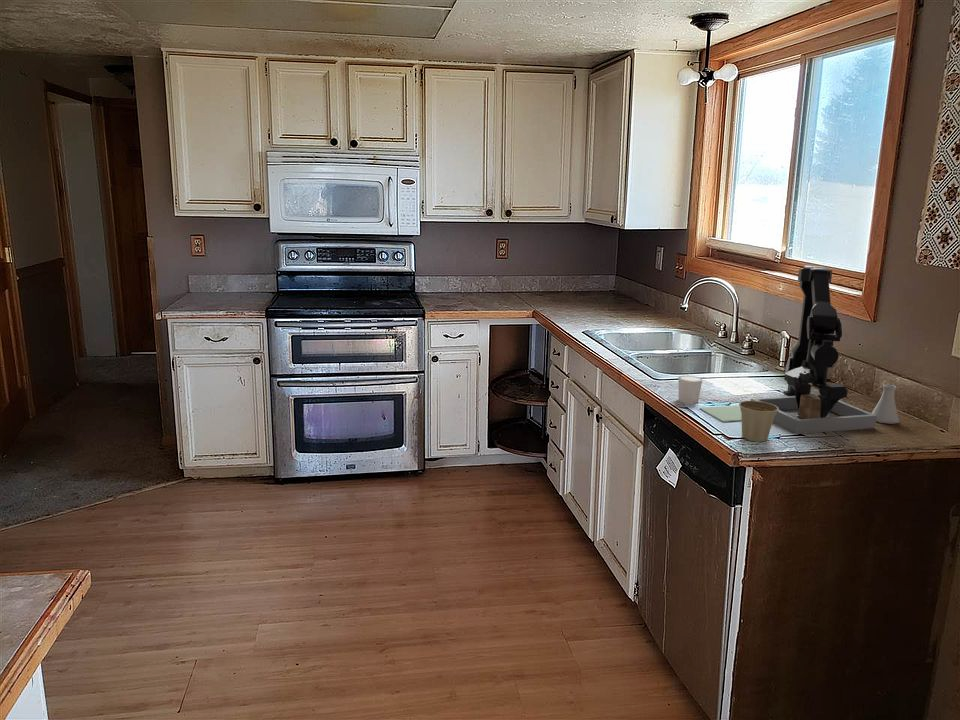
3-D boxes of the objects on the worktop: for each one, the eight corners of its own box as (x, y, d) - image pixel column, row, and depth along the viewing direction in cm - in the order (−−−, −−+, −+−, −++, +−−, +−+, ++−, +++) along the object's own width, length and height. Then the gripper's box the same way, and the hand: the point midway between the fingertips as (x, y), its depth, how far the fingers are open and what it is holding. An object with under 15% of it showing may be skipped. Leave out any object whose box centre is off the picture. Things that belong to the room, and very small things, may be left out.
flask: (889, 416, 208) (895, 382, 206) (904, 424, 201) (910, 389, 199) (864, 416, 208) (869, 382, 206) (878, 424, 201) (884, 389, 199)
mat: (699, 409, 211) (699, 407, 211) (736, 406, 214) (736, 405, 214) (722, 422, 200) (723, 420, 200) (761, 419, 203) (761, 418, 203)
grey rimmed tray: (749, 410, 211) (751, 398, 210) (822, 405, 217) (824, 394, 216) (796, 433, 192) (797, 421, 191) (874, 428, 198) (876, 415, 197)
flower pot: (763, 431, 193) (766, 400, 191) (782, 444, 184) (786, 411, 182) (729, 432, 192) (732, 400, 190) (746, 445, 183) (750, 411, 181)
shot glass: (684, 396, 224) (686, 374, 222) (704, 401, 219) (706, 378, 217) (671, 400, 219) (673, 377, 217) (692, 405, 214) (694, 382, 213)
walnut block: (797, 417, 206) (800, 394, 205) (811, 416, 207) (814, 393, 206) (808, 422, 202) (811, 399, 200) (822, 421, 203) (825, 398, 201)
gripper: (771, 351, 207) (764, 405, 211) (816, 368, 190) (808, 425, 193) (805, 350, 210) (798, 403, 214) (852, 366, 192) (844, 423, 196)
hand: (811, 413), depth 204 cm, fingers open, 9 cm apart
